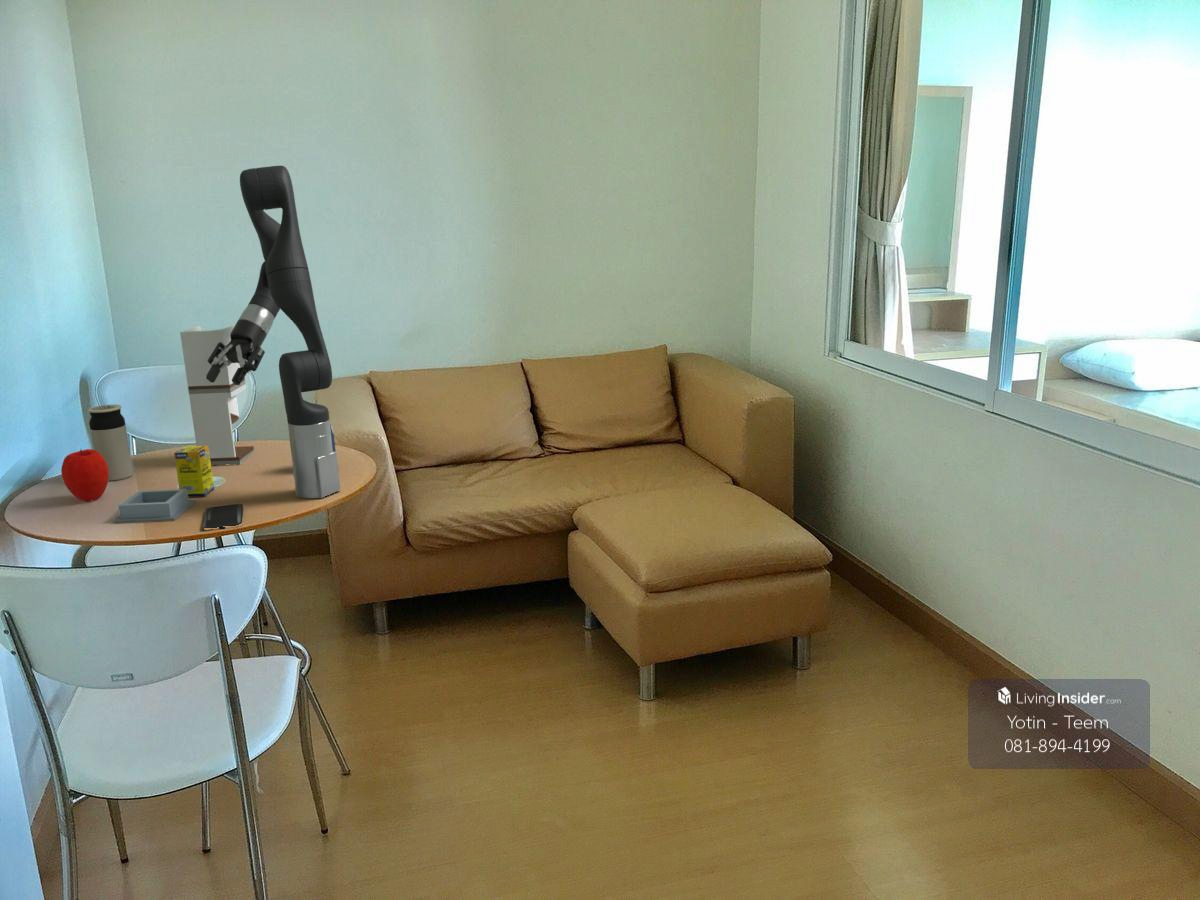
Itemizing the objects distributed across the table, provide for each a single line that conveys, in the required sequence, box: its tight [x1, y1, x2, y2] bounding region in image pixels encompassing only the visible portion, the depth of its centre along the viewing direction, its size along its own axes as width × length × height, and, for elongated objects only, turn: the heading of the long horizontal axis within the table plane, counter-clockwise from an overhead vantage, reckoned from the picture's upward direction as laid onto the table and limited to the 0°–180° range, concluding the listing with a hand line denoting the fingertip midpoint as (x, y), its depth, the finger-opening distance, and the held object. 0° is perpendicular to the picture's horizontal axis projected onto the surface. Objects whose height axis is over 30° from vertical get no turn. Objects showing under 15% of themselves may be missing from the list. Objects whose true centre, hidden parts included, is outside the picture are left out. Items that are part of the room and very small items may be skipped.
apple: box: [60, 448, 109, 502], centre depth 231 cm, size 10×10×12 cm
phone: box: [202, 503, 244, 529], centre depth 215 cm, size 8×1×15 cm
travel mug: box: [87, 404, 134, 482], centre depth 248 cm, size 8×8×18 cm
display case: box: [180, 324, 255, 466], centre depth 259 cm, size 11×11×35 cm
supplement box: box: [173, 445, 215, 498], centre depth 233 cm, size 6×6×11 cm
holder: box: [112, 488, 196, 524], centre depth 220 cm, size 13×13×4 cm
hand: (222, 381), depth 237 cm, fingers open, 8 cm apart
